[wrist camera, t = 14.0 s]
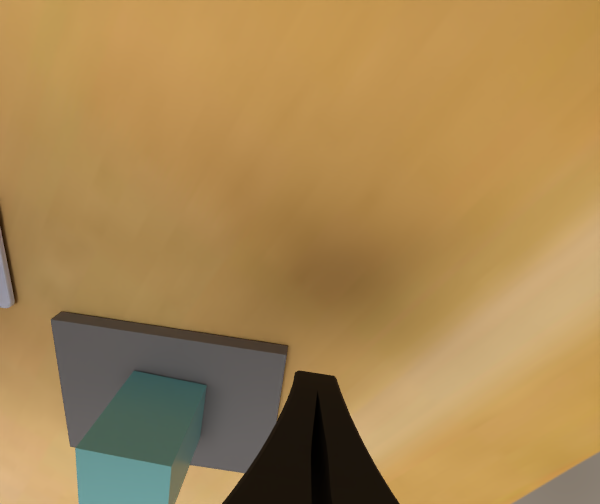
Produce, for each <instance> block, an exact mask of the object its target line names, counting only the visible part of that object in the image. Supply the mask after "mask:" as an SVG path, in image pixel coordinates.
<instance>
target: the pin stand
mask: <svg viewBox="0 0 600 504" xmlns="http://www.w3.org/2000/svg"><path fill="white" fill-rule="evenodd" d="M51 325H52V331H53V338H54V344H55V351H56V357H57V364H58V370H59V377H60V383H61V390H62V396H63V403H64V409H65V416H66V422H67V429H68V435H69V442H70V447H75V448H76V447H77V445H78V444H79V443H80V441H81V440H82V439H83V437H84V436H85V435H86V433H87V432H88V431H89V429H90V428H91V427H92V425H93V424H94V423H95V421H96V420H97V419H98V417H99V416H100V415H101V414H102V412H103V411H104V410H105V408H106V407H107V406H108V404H109V403H110V402H111V400H112V399H113V398H114V396H115V395H116V394H117V392H118V391H119V390H120V388H121V387H122V386H123V384H124V383H125V382H126V380H127V379H128V378H129V376H130V375H131V374H132V372H133V371H138V372H143V373H148V374H153V375H158V376H163V377H168V378H173V379H178V380H183V381H188V382H193V383H198V384H203V385H207V387H206V395H205V403H204V411H203V419H202V426H201V434H200V439H199V442H198V444H197V447H196V450H195V452H194V455H193V457H192V460H191V463H190V465H194V466H201V467H207V468H214V469H221V470H227V471H234V472H240V473H246V471H247V470H248V468H249V467H250V465H251V464H252V462H253V461H254V459H255V458H256V456H257V455H258V453H259V452H260V450H261V448H262V447H263V445H264V444H265V442H266V440H267V438H268V437H269V435H270V433H271V431H272V429H273V428H274V426H275V424H276V421H277V414H278V408H279V401H280V395H281V388H282V382H283V375H284V369H285V362H286V356H287V349H288V346H286V345H279V344H272V343H266V342H259V341H253V340H246V339H239V338H233V337H226V336H219V335H213V334H206V333H200V332H193V331H186V330H180V329H173V328H167V327H160V326H153V325H147V324H140V323H134V322H127V321H120V320H114V319H107V318H100V317H94V316H87V315H81V314H74V313H67V312H60V313H59V314H57V315H56V316H55V317H53V318H52V319H51Z"/></svg>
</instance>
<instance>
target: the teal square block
mask: <svg viewBox="0 0 600 504" xmlns="http://www.w3.org/2000/svg"><path fill="white" fill-rule="evenodd" d="M206 387H207V385H203V384H198V383H193V382H188V381H183V380H178V379H173V378H168V377H163V376H158V375H153V374H148V373H143V372H138V371H133V372H132V374H131V375H130V376H129V378H128V379H127V380H126V382H125V383H124V384H123V386H122V387H121V388H120V390H119V391H118V392H117V394H116V395H115V396H114V398H113V399H112V400H111V402H110V403H109V404H108V406H107V407H106V408H105V410H104V411H103V412H102V414H101V415H100V416H99V417H98V419H97V420H96V421H95V423H94V424H93V425H92V427H91V428H90V429H89V431H88V432H87V433H86V435H85V436H84V437H83V439H82V440H81V441H80V443H79V444H78V445H77V447H76V448H75V450H76V466H77V482H78V498H79V504H175V502H176V499H177V497H178V494H179V492H180V489H181V486H182V484H183V481H184V478H185V476H186V473H187V471H188V468H189V465H190V463H191V460H192V457H193V455H194V452H195V450H196V447H197V444H198V442H199V439H200V434H201V426H202V419H203V411H204V403H205V395H206Z"/></svg>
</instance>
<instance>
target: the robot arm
mask: <svg viewBox="0 0 600 504" xmlns="http://www.w3.org/2000/svg"><path fill="white" fill-rule="evenodd" d="M14 303H15V300H14V295H13V289H12V284H11V279H10V274H9V269H8V264H7V259H6V254H5V248H4V243H3V238H2V233H1V228H0V307H1V308H9V307H11V306H12V305H14ZM222 504H399V502H398V501H397V499H396V498H395V496H394V495H393V493H392V492H391V490H390V488H389V487H388V485H387V484H386V482H385V480H384V479H383V477H382V476H381V474H380V472H379V470H378V469H377V467H376V465H375V464H374V462H373V460H372V458H371V456H370V454H369V453H368V451H367V449H366V447H365V445H364V443H363V441H362V439H361V437H360V435H359V433H358V431H357V429H356V427H355V424H354V422H353V420H352V418H351V416H350V413H349V411H348V409H347V406H346V404H345V401H344V399H343V396H342V394H341V391H340V388H339V385H338V382H337V379H336V378H335V376H331V375H324V374H318V373H311V372H305V371H297V372H295V376H294V381H293V385H292V388H291V391H290V394H289V396H288V399H287V401H286V403H285V406H284V408H283V410H282V412H281V414H280V416H279V418H278V420H277V422H276V424H275V426H274V428H273V429H272V431H271V433H270V435H269V437H268V438H267V440H266V442H265V444H264V445H263V447H262V448H261V450H260V452H259V453H258V455H257V456H256V458H255V459H254V461H253V462H252V464H251V465H250V467H249V468H248V470H247V471H246V473H245V474H244V475H243V477H242V478H241V479H240V481H239V482H238V484H237V485H236V486H235V488H234V489H233V490H232V492H231V493H230V494H229V496H228V497H227V498H226V499H225V501H224V502H223V503H222Z"/></svg>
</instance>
